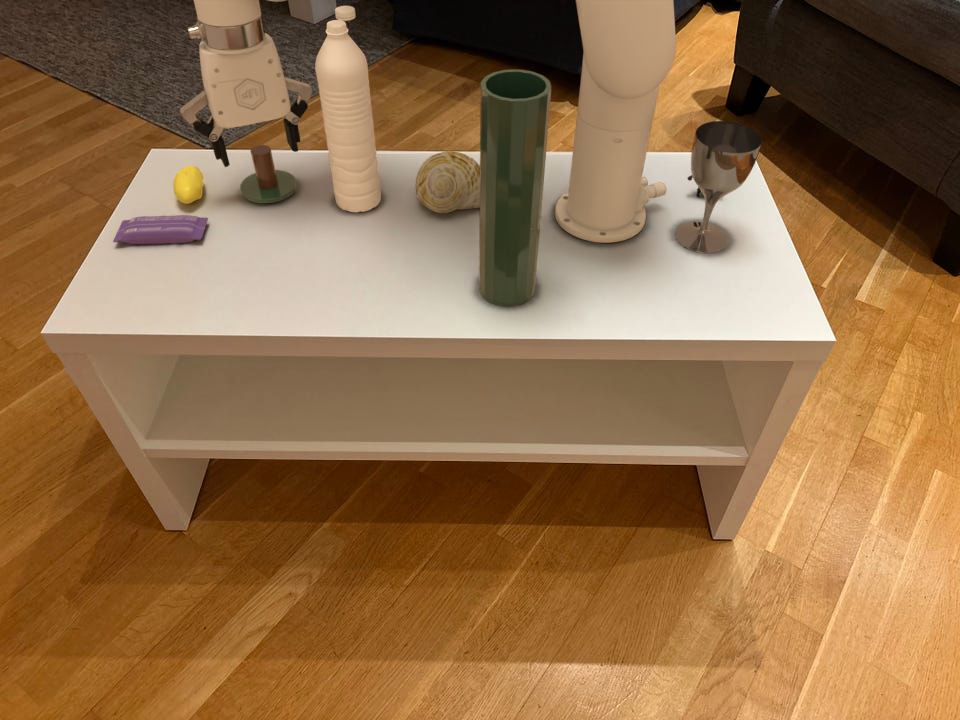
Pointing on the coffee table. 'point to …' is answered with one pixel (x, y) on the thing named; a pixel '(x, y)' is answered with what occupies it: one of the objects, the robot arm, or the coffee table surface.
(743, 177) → the wine glass
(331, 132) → the water bottle
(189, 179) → the lemon
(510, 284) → the green cylindrical vase
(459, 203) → the seashell
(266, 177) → the lid
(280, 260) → the coffee table surface
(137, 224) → the snack package
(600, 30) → the robot arm
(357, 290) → the coffee table surface
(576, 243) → the coffee table surface
